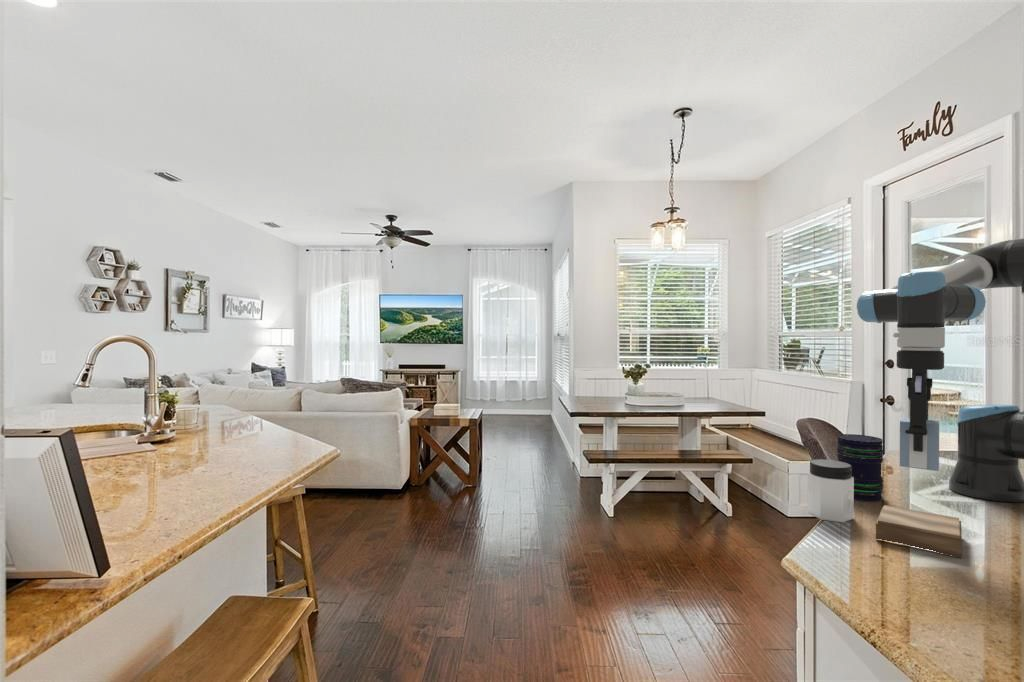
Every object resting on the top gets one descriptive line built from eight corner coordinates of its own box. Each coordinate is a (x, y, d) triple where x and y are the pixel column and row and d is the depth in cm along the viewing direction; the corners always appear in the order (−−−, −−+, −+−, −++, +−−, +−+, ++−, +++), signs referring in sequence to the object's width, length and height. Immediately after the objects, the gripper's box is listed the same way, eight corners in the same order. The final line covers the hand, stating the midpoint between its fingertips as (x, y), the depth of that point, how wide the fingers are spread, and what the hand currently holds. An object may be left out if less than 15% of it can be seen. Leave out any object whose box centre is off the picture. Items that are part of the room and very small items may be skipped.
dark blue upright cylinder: (841, 499, 130) (841, 440, 130) (832, 488, 139) (832, 433, 139) (888, 504, 126) (889, 442, 126) (876, 492, 135) (876, 435, 135)
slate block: (901, 460, 108) (902, 417, 108) (939, 465, 104) (939, 420, 104) (899, 466, 104) (899, 421, 104) (938, 471, 100) (938, 424, 100)
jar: (840, 525, 112) (840, 470, 112) (801, 514, 119) (801, 462, 118) (859, 517, 117) (859, 464, 117) (821, 507, 123) (821, 457, 123)
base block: (882, 522, 113) (882, 504, 113) (960, 537, 105) (961, 517, 105) (875, 540, 103) (875, 520, 103) (961, 558, 95) (961, 536, 95)
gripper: (900, 348, 114) (899, 453, 114) (892, 349, 99) (891, 470, 99) (944, 349, 109) (943, 458, 109) (943, 350, 94) (942, 477, 94)
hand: (918, 464), depth 104 cm, fingers closed on slate block, 6 cm apart
